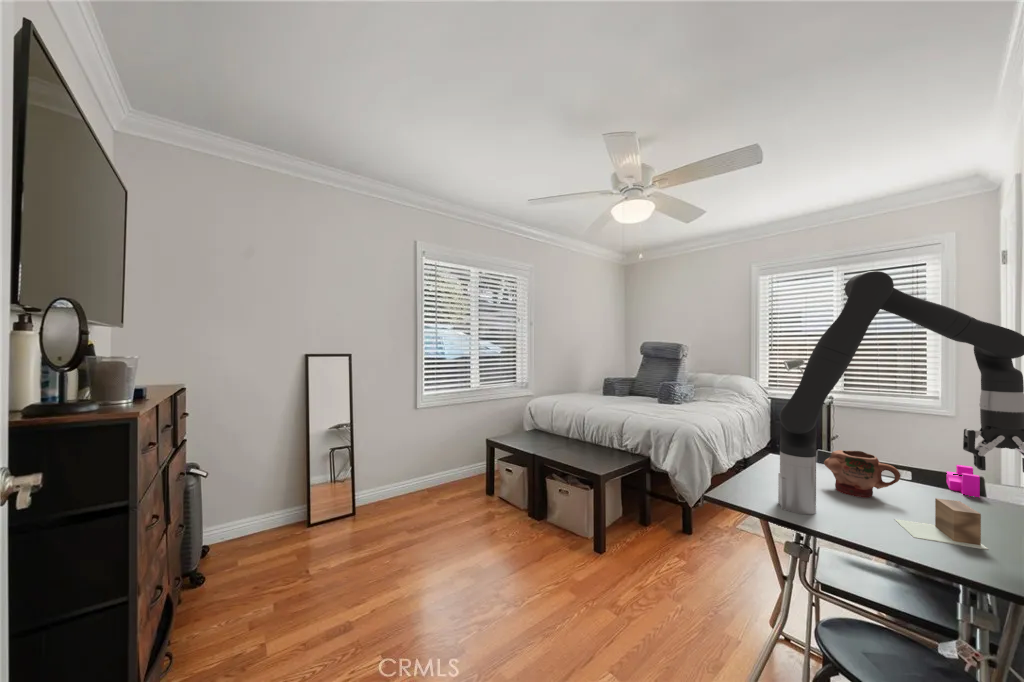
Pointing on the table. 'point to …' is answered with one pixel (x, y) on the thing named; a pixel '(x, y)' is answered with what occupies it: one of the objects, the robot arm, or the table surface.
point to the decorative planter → (858, 472)
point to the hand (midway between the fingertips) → (1004, 471)
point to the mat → (931, 533)
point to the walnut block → (958, 521)
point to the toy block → (964, 481)
